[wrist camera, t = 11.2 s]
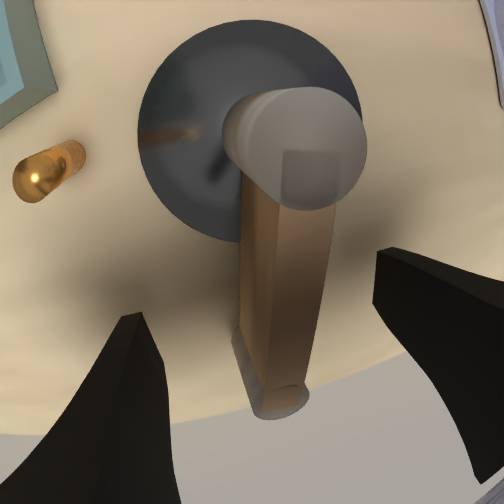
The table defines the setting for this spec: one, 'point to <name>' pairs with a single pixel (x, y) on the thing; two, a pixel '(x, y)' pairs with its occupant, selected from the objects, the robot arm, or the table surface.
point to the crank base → (202, 119)
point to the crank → (287, 230)
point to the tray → (21, 60)
